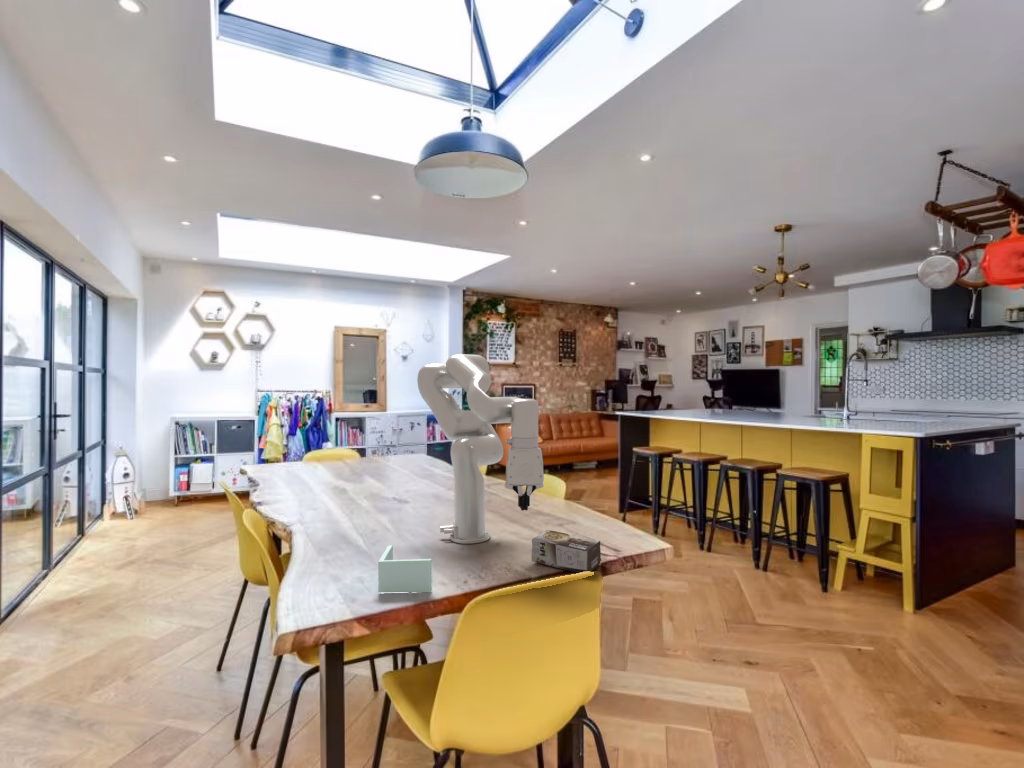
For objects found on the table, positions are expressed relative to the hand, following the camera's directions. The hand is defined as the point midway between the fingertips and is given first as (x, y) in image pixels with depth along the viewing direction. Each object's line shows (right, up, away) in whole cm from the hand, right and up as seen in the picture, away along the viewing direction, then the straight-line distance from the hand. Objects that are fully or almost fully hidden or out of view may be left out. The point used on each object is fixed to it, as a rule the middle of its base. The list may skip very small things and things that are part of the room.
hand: (523, 509), depth 140 cm
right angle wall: (-28, -14, -18) cm, 36 cm away
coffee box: (+4, -9, -2) cm, 10 cm away
